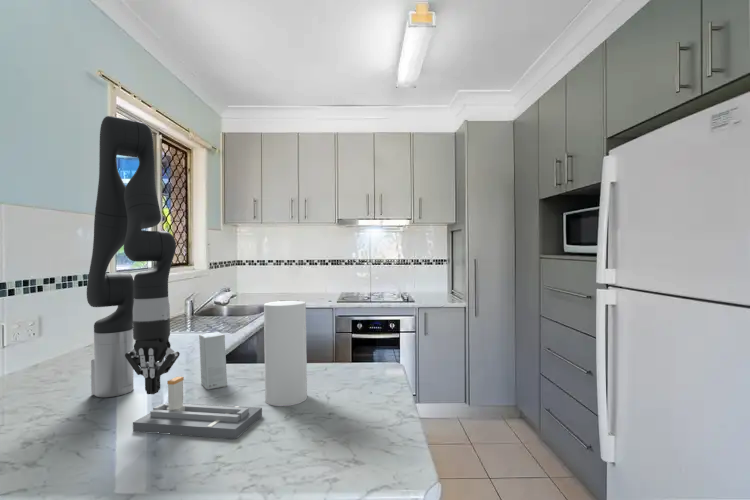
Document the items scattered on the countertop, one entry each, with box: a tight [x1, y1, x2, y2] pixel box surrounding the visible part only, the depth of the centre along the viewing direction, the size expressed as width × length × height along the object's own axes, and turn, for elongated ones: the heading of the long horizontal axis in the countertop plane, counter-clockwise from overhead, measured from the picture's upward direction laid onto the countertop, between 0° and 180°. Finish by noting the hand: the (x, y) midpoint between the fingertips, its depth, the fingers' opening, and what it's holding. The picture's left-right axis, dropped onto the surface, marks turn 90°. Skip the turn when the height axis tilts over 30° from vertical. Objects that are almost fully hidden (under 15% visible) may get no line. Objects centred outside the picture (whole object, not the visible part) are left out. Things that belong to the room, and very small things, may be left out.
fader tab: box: [167, 376, 185, 411], centre depth 94 cm, size 3×3×8 cm
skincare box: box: [198, 331, 228, 390], centre depth 121 cm, size 8×6×15 cm
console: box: [132, 402, 263, 440], centre depth 93 cm, size 24×12×3 cm, turn 79°
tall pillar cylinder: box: [263, 300, 308, 407], centre depth 108 cm, size 11×11×25 cm
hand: (152, 393), depth 95 cm, fingers closed
